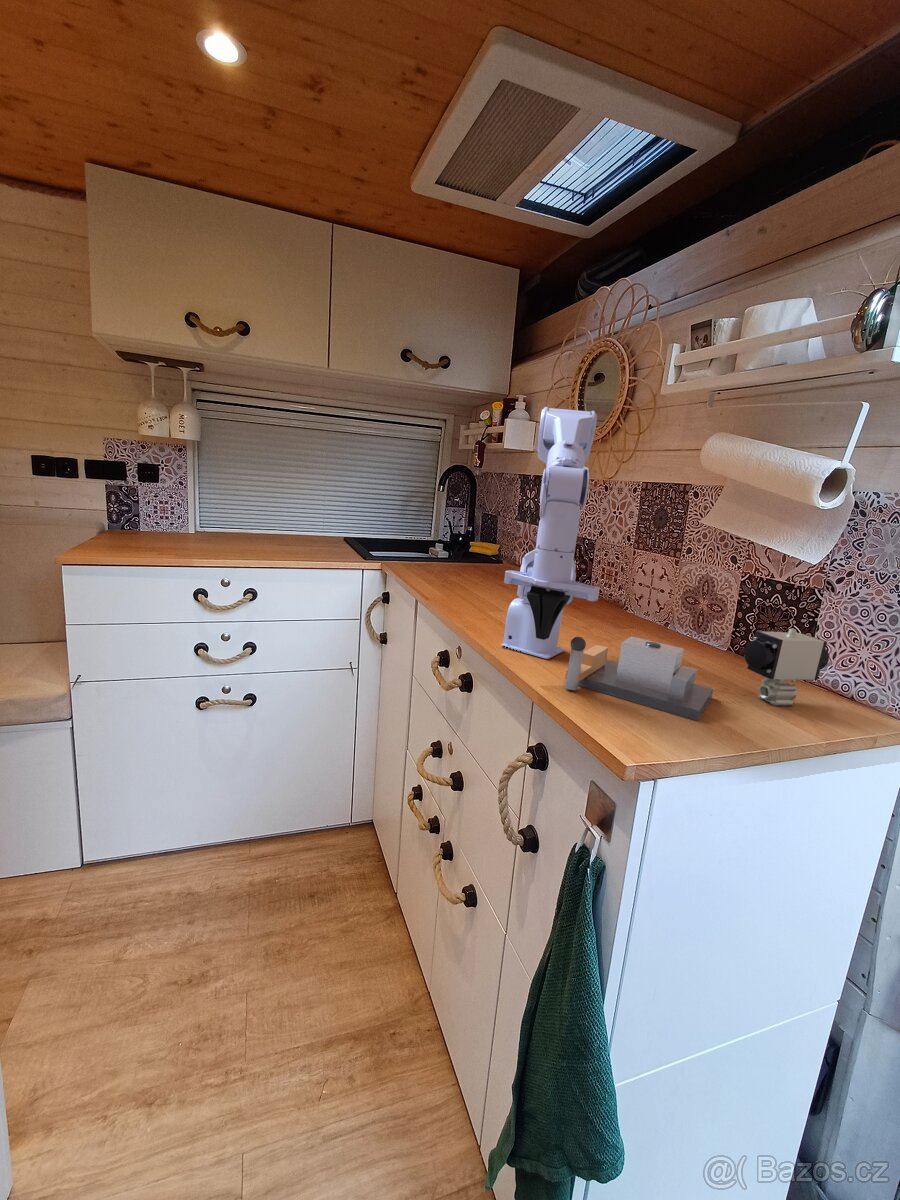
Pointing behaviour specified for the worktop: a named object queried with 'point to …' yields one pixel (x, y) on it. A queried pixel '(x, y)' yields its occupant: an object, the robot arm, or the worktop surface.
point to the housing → (648, 663)
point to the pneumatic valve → (785, 662)
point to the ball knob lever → (583, 662)
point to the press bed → (654, 691)
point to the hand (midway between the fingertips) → (542, 637)
